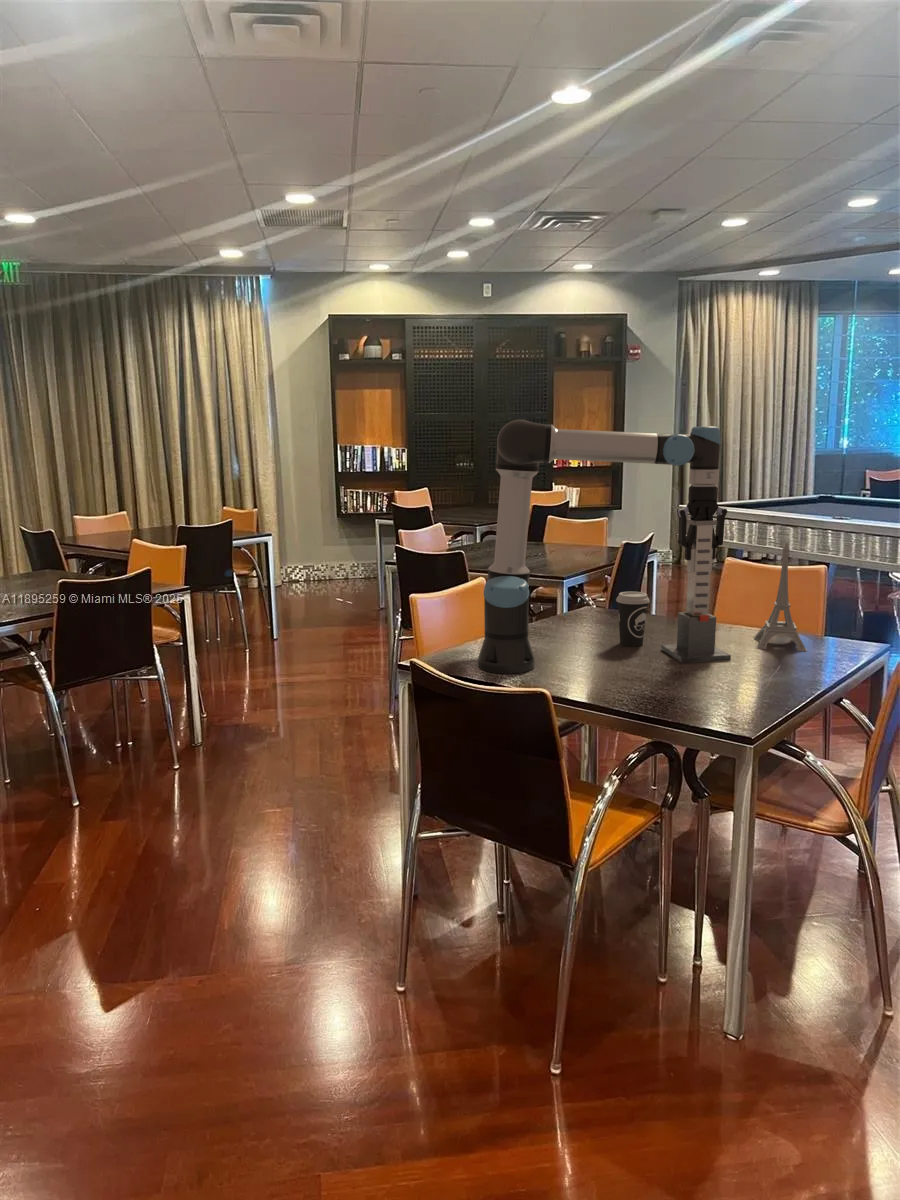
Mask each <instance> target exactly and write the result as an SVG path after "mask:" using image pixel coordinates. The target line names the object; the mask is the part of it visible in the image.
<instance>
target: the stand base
mask: <svg viewBox="0 0 900 1200" xmlns="http://www.w3.org/2000/svg"><path fill="white" fill-rule="evenodd" d="M677 614H678V616H677V630H676V631H677V635H676V643H673V644H670V643H669V644H661V648H660V650H661V651H662V652H664V653H665V654H666V655H669V656H670V657H671V658H673V659H675V660H676V661H678V662H679V663H681V664H688V663H708V662H728V661H729V662H730V661H731V659H732V655H731V654H730V653H728V652H726V651H724V650H723V649H720V648H718V647H717V646H716V631H717V630H716V627H717V617H716V616H714V615H713V614H710V613H709V612H708V615H699V617H693V618H691V617H689V616H687V615H686V611H685V612H683V611H682V612H677Z"/></svg>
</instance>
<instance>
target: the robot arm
mask: <svg viewBox="0 0 900 1200" xmlns="http://www.w3.org/2000/svg"><path fill="white" fill-rule="evenodd" d="M496 441H497V442H496V444H497V445H496V447H497V448H496V460H495V462H496V463H495V470H496V472H497V473H498V474H499V476H500V481H499V483H500V484H499V492H498V493H499V495H498V506H497V507H498V508H497V509H498V511H497V521H496V522H497V523H496V532H495V533H496V534H495V536H496V537H495V546H494V547H495V549H494V562H493V563H492V564H491V565H490V566H489V567H488V569H487V570H488V571H487V579H486V580H487V581H486V582H485V583H484V589H483V598H484V600H483V601H484V607H483V608H484V610H483V611H484V617H483V618H484V637H483V642H482V645H481V647H480V648H481V649H480V652H479V653H478V656H477V657H478V658H477V667H478V668H479V669H480V670H482V671H485V672H488V673H494V674H506V675H509V674H511V675H512V674H520V673H521V674H523V673H526V672H529V671H532V670H533V669H535V665H536V664H535V663H536V661H535V658H536V657H535V656H534V653H533V648H532V646H531V644H530V640H529V607H530V606H529V601H530V600H529V597H530V589H529V587H530V586H529V585H530V573H531V571H530V569H529V568H528V567H527V566H526V557H527V544H528V533H529V520H530V510H531V496H532V485H533V484H532V483H533V479H534V477H535V476H536V475H537V474H538V473H539V470H540V464H551V462H553V461H555V460H560V461H561V460H565V461H583V462H585V461H588V462H604V463H605V462H606V463H607V462H608V463H609V462H611V463H628V464H629V463H631V464H633V463H634V464H648V465H649V464H651V465H667V466H668V465H669V466H675V467H677V466H679V467H680V466H684V465H685V464H687V463H688V464H689V472H688V473H689V477H688V478H689V479H688V483H689V485H690V486H688V493H687V494H688V496H687V498H688V503H687V504H686V507H684V508H681V509H679V508H678V509H677V510H676V513H677V516H678V535H677V540H678V541H677V544H678V546H680V547H683V548H684V559H685V560H686V562H687V563H686V572H687V573H688V572H690V573H694V553H695V549H694V548H692V545H693V542H694V538H695V528H696V526H695V525H691V524H688V525H689V526H688V525H687V519H688V518H687V516H688V514H689V515H690V517H689V519H691V520H693V519H694V520H695V521H699V520H714V515H715V514H716V519H715V520H717V525H713V532H712V551H711V570H710V573H712V572H713V571H712V568H713V560H715V559H716V553H717V552H716V549H717V548H718V547H719V546H723V544H724V538H725V537H724V535H725V520H726V516H727V514H728V509H727V508H722V507H721V506H720V507H719V504H718V495H719V494H718V493H719V487H718V486H717V485H718V484H719V477H720V476H719V473H720V469H719V468H720V457H721V445H722V443H721V442H722V441H721V429H720V428H719V427H718V426H693V427H691V430H690V433H688V434H683V433H675V434H674V433H673V434H672V433H668V434H667V433H654V432H653V433H651V432H649V433H647V432H631V431H612V430H611V431H608V430H607V431H606V430H586V429H584V430H583V429H563V428H556V427H555V426H554V424H547V423H538V422H537V423H536V422H532V421H528V420H526V419H515V420H511V421H509V422H508V423H506V424H505V425H503V426H502V428H501V429H500V431H499V432H498V435H497V439H496ZM687 526H688V530H687Z"/></svg>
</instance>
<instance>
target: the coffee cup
mask: <svg viewBox="0 0 900 1200" xmlns="http://www.w3.org/2000/svg"><path fill="white" fill-rule="evenodd" d="M615 601H616V602H617V611H618V612H617V613H618V627H619V629H618V630H619V631H618V632H619V644H620V645H621V646H623V647H632V648H636V647H641V646H643V644H644V636H645V630H646V628H645V627H646V621H647V614H648V613H647V611H648V606H649V603H650V598H649V597H648V594H647V593H645V592H642V591H621V592H619V593H618V596H617V597H616V599H615Z"/></svg>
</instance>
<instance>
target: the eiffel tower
mask: <svg viewBox="0 0 900 1200" xmlns="http://www.w3.org/2000/svg"><path fill="white" fill-rule="evenodd" d="M781 555H782V561H781V562H782V563H781V571H780V577H779V584H778V590H777V594H776V595H777V596H776V600H775V601H774V602H773V605H774V607H773V609H772V611H771V613H770V615H769V617H768V619H767V620H764V622H765V624H764V625H763V626H762V627H761V629H760V630H759V631H758V632H757V633H756V634H755V635H754V636H753V641H758V643H757V644H756V646H755V647H756V649H758V650H767V649H768V648H767V645H768V643H769V642H770V640H771V639H772V638H774V637H775V636H778V635H785V636H788V637H790V638H791V639H790V640H791V642H792V643H795V646H796V647H795V650H796V651H797V652H808V649H807V648H806V647H805V644H804V642H803V640H802V639H801V638H800V635H799V633H798V631H797V629H798V627H797V626H796V623H795V622H794V621H793V618H792V614H791V610H790V608H791V604H790V600H789V584H788V583H789V556H790V555H791V553H790V548H789V543H788V542H784V546H783V548H782V552H781ZM781 611H783V615H784V616H783V617H784V621H781V620H780V621H779V617H780V613H781Z"/></svg>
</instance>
